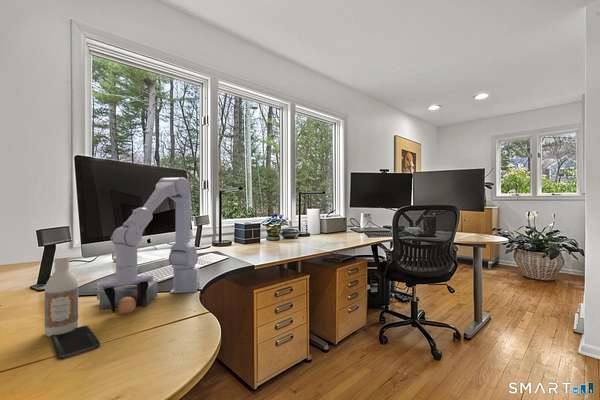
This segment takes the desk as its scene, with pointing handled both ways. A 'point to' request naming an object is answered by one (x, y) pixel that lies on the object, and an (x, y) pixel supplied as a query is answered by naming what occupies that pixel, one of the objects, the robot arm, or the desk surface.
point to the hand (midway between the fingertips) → (126, 308)
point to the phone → (74, 342)
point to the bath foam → (61, 299)
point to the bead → (126, 305)
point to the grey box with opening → (128, 295)
